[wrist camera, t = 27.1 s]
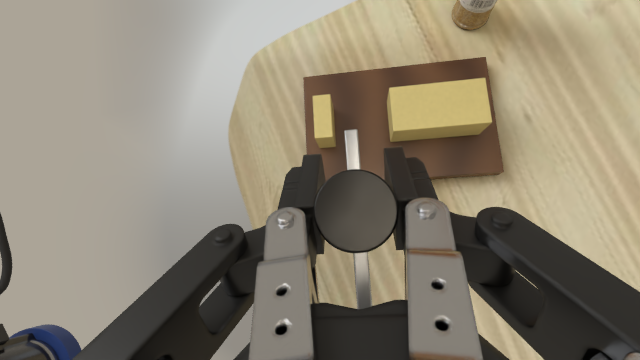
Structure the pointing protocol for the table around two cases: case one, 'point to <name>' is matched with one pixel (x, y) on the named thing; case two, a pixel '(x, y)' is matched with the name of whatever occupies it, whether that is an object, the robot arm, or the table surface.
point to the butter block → (438, 110)
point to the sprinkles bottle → (472, 13)
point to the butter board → (373, 126)
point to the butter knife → (356, 214)
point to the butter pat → (324, 121)
